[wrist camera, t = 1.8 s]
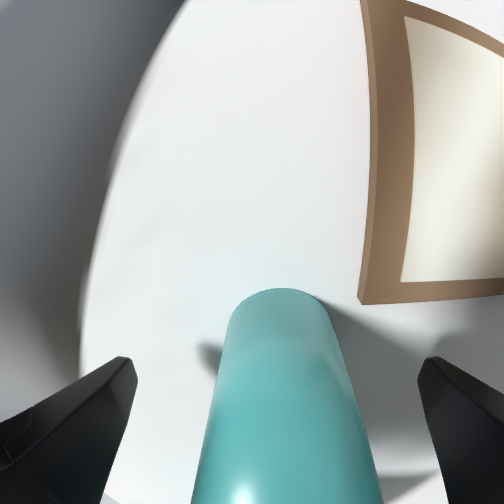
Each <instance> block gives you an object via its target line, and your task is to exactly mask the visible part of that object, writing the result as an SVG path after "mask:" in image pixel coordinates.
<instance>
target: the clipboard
mask: <svg viewBox="0 0 504 504" xmlns="http://www.w3.org/2000/svg"><path fill="white" fill-rule="evenodd" d="M360 4H361V11H362V17H363V25H364V33H365V41H366V51H367V63H368V76H369V95H370V172H369V192H368V207H367V219H366V230H365V240H364V249H363V257H362V265H361V273H360V280H359V286H358V293H357V297H358V299H359V301H360V302H361V304H362V305H375V304H396V303H413V302H428V301H441V300H453V299H464V298H474V297H484V296H493V295H501V294H504V44H503V43H501V42H499V41H498V40H496V39H494V38H492V37H491V36H489V35H487V34H485V33H483V32H481V31H479V30H478V29H476V28H474V27H472V26H470V25H467V24H465V23H463V22H461V21H459V20H457V19H454V18H452V17H450V16H447V15H445V14H443V13H440V12H438V11H435V10H432V9H430V8H427V7H424V6H421V5H419V4H416V3H413V2H410V1H406V0H360Z"/></svg>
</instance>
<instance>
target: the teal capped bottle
mask: <svg viewBox="0 0 504 504" xmlns="http://www.w3.org/2000/svg"><path fill="white" fill-rule="evenodd" d="M191 504H384V502H383V497H382V493H381V489H380V485H379V480H378V476H377V472H376V468H375V464H374V460H373V457H372V453H371V449H370V445H369V442H368V438H367V434H366V431H365V427H364V424H363V420H362V417H361V413H360V410H359V406H358V403H357V400H356V396H355V393H354V390H353V386H352V383H351V380H350V377H349V374H348V371H347V367H346V364H345V361H344V358H343V355H342V352H341V349H340V346H339V343H338V340H337V337H336V334H335V331H334V328H333V325H332V322H331V319H330V317H329V314H328V312H327V311H326V309H325V307H324V306H323V305H322V304H321V303H320V302H319V301H318V300H317V299H315V298H314V297H312V296H311V295H309V294H307V293H304V292H302V291H298V290H294V289H287V288H276V289H269V290H265V291H261V292H259V293H256V294H254V295H252V296H250V297H249V298H247V299H246V300H244V301H243V302H242V303H241V304H240V305H239V306H238V307H237V308H236V309H235V311H234V312H233V314H232V316H231V318H230V321H229V324H228V328H227V333H226V338H225V342H224V347H223V351H222V356H221V361H220V365H219V370H218V375H217V379H216V384H215V389H214V394H213V398H212V403H211V408H210V412H209V417H208V422H207V427H206V432H205V436H204V441H203V446H202V451H201V456H200V460H199V465H198V470H197V475H196V480H195V485H194V490H193V495H192V500H191Z"/></svg>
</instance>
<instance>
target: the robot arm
mask: <svg viewBox="0 0 504 504" xmlns="http://www.w3.org/2000/svg"><path fill="white" fill-rule="evenodd" d="M417 383H418V387H419V392H420V396H421V400H422V404H423V409H424V413H425V418H426V422H427V425H428V428H429V431H430V435H431V438H432V441H433V444H434V448H435V451H436V455H437V458H438V462H439V465H440V469H441V473H442V477H443V481H444V485H445V489H446V493H447V498H448V502H449V504H504V394H502V393H500V392H499V391H497V390H495V389H493V388H492V387H490V386H488V385H487V384H485V383H483V382H482V381H480V380H478V379H476V378H475V377H473V376H471V375H470V374H468V373H466V372H464V371H463V370H461V369H459V368H458V367H456V366H454V365H453V364H451V363H449V362H447V361H446V360H444V359H442V358H441V357H439V356H432V357H427V358H426V359H425V361H424V363H423V365H422V368H421V370H420V373H419V375H418V379H417ZM137 384H138V378H137V374H136V371H135V368H134V365H133V362H132V360H131V359H130V358H128V357H121V356H118V357H116V358H114V359H113V360H111V361H109V362H108V363H106V364H104V365H103V366H101V367H99V368H97V369H96V370H94V371H92V372H91V373H89V374H87V375H86V376H84V377H82V378H81V379H79V380H77V381H75V382H74V383H72V384H71V385H69V386H67V387H65V388H63V389H62V390H60V391H58V392H57V393H55V394H53V395H51V396H50V397H48V398H46V399H44V400H43V401H41V402H39V403H37V404H36V405H34V407H33V406H32V407H30V408H28V409H27V410H25V411H23V412H21V413H19V414H17V415H16V416H14V417H12V418H10V419H7V420H5V421H3V422H1V423H0V504H100V501H101V498H102V495H103V492H104V489H105V486H106V483H107V480H108V477H109V474H110V471H111V468H112V465H113V462H114V459H115V456H116V454H117V451H118V448H119V445H120V443H121V440H122V437H123V434H124V432H125V429H126V426H127V423H128V419H129V415H130V411H131V407H132V403H133V399H134V396H135V392H136V388H137Z"/></svg>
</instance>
